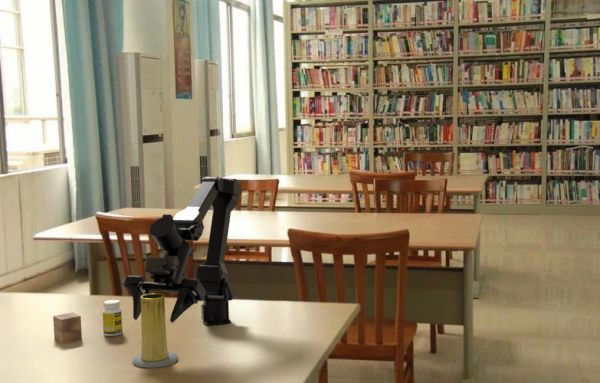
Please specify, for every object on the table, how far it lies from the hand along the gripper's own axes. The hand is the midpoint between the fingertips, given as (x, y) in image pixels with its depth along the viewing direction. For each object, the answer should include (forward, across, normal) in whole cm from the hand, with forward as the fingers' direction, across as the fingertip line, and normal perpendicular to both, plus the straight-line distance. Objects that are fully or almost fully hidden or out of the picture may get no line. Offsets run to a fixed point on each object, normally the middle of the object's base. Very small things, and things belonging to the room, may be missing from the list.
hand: (152, 320), depth 167 cm
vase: (+6, 0, +7) cm, 9 cm away
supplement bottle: (-5, -21, +19) cm, 29 cm away
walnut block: (0, -30, +14) cm, 33 cm away
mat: (+6, 0, +7) cm, 9 cm away
